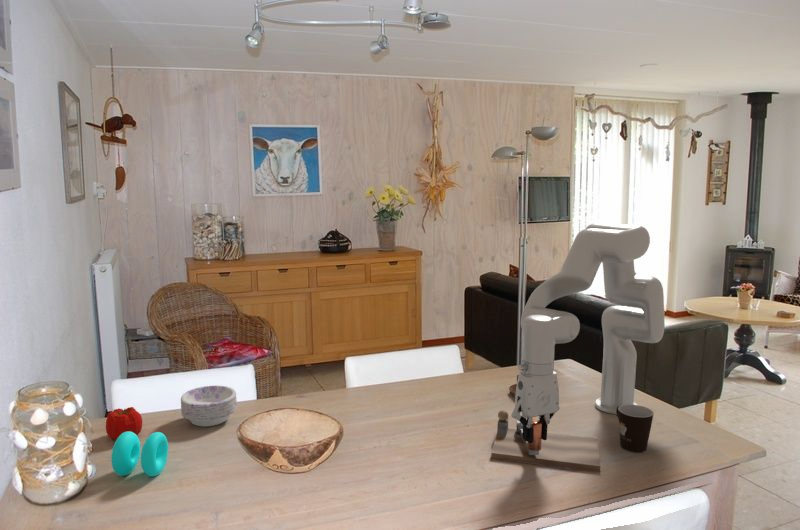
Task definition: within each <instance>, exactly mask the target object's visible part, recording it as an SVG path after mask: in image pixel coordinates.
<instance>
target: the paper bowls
mask: <svg viewBox="0 0 800 530" xmlns="http://www.w3.org/2000/svg"><path fill="white" fill-rule="evenodd" d="M237 401H238V400H237V392H236V390H235V388H233V387H231V386H227V385H204V386H200V387H195V388H192V389H190V390H188V391H185V392H184V393H183V394H182V395H181V397H180V408H181V409H180V411H181V416H182V418H184V419H186V420H189V421H190V423H191V424H193V425H194V426H196V427H205V428H206V427H214V426H217V425H220V424H223V423H224V422H226V421H227V420H228V419H229V418H230V415H232V414H233V413H234V412H235V411H237V408H238V404H237V403H238V402H237Z"/></svg>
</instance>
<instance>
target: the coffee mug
mask: <svg viewBox="0 0 800 530" xmlns="http://www.w3.org/2000/svg"><path fill="white" fill-rule="evenodd" d="M616 413H617V415H616V417H617V420H618V426H619V427H618V428H619V444H620V445H619V446H620V448H621V449H623V450H625V451H627V452H630V453H634V454H635V453H636V454H637V453H639V454H640V453H645V452H646V451H647V450H648V449H647V448H648V443H649V439H650V434H651V428H652V424H653V420H654V413H655V412H654V411H653V410H652V409H650V408H648V407H646V406H643V405H639V404H637V405H622V406H618V407H617V410H616Z"/></svg>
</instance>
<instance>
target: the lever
mask: <svg viewBox="0 0 800 530" xmlns="http://www.w3.org/2000/svg"><path fill="white" fill-rule="evenodd" d="M515 424H516V425H515V427H516V429H517V431H516V432H517V433H518V434H520V436H521V438H522V440H523V443H524V445H525V447H526V449H527V452H528V454H529V455H539V450H541V443H542V422H541V421H540V420H539V419H535V418H534V419H532V425H531V427H532V428H533V442H532V443H528V442H527V441H525V440H524V439H523V436H522V434H523V424H521V422H520V421H519V420H516V423H515Z"/></svg>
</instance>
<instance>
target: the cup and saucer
mask: <svg viewBox="0 0 800 530" xmlns="http://www.w3.org/2000/svg"><path fill="white" fill-rule="evenodd" d="M518 376H519V374H518V375H516V382H517V381H518ZM516 387H517V383H515V384H512V385H510V386H509V388H508V389H509V392H510V393H511V395H513V396H515V395H516Z"/></svg>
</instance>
